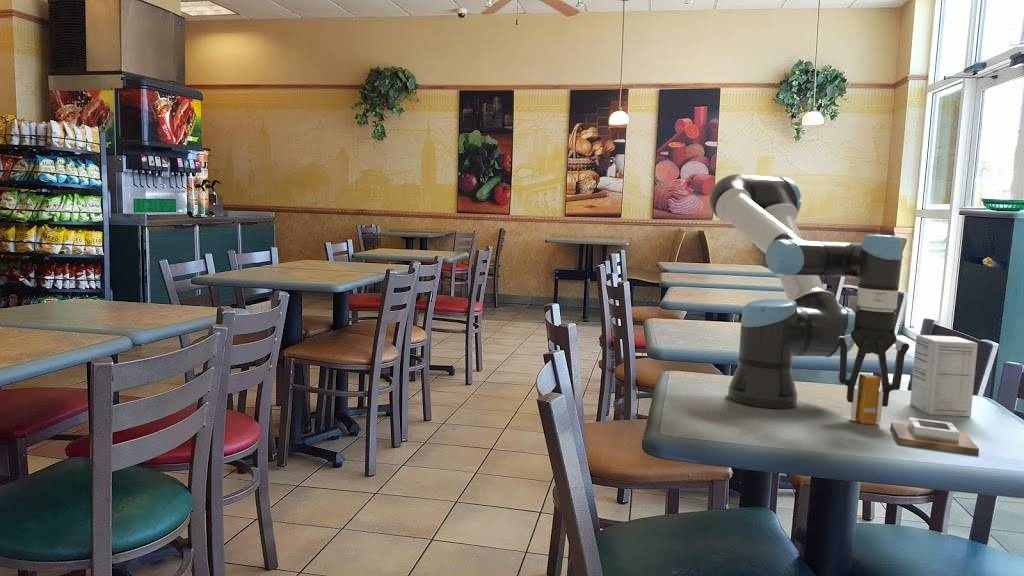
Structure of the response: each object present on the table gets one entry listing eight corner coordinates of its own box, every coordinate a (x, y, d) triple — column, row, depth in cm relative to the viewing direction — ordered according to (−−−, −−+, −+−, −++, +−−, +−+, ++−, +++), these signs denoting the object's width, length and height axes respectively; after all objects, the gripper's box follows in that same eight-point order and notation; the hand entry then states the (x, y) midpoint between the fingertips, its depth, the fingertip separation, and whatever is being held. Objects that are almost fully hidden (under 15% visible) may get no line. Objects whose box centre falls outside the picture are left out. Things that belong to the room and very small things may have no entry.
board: (898, 444, 134) (899, 437, 134) (890, 427, 145) (891, 422, 145) (978, 455, 129) (979, 448, 129) (963, 437, 140) (964, 431, 140)
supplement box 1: (877, 424, 147) (881, 377, 146) (861, 424, 147) (865, 376, 146) (869, 420, 150) (873, 373, 149) (853, 419, 150) (857, 373, 149)
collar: (913, 436, 135) (914, 426, 135) (908, 427, 142) (909, 417, 141) (958, 443, 132) (959, 432, 132) (950, 432, 139) (951, 422, 139)
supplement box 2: (950, 406, 166) (958, 336, 164) (972, 417, 157) (980, 342, 155) (908, 404, 167) (915, 333, 165) (927, 414, 157) (934, 340, 156)
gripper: (832, 307, 146) (821, 417, 148) (925, 315, 140) (913, 430, 142) (830, 303, 153) (820, 409, 155) (919, 311, 146) (908, 420, 149)
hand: (865, 419), depth 148 cm, fingers closed on supplement box 1, 4 cm apart
